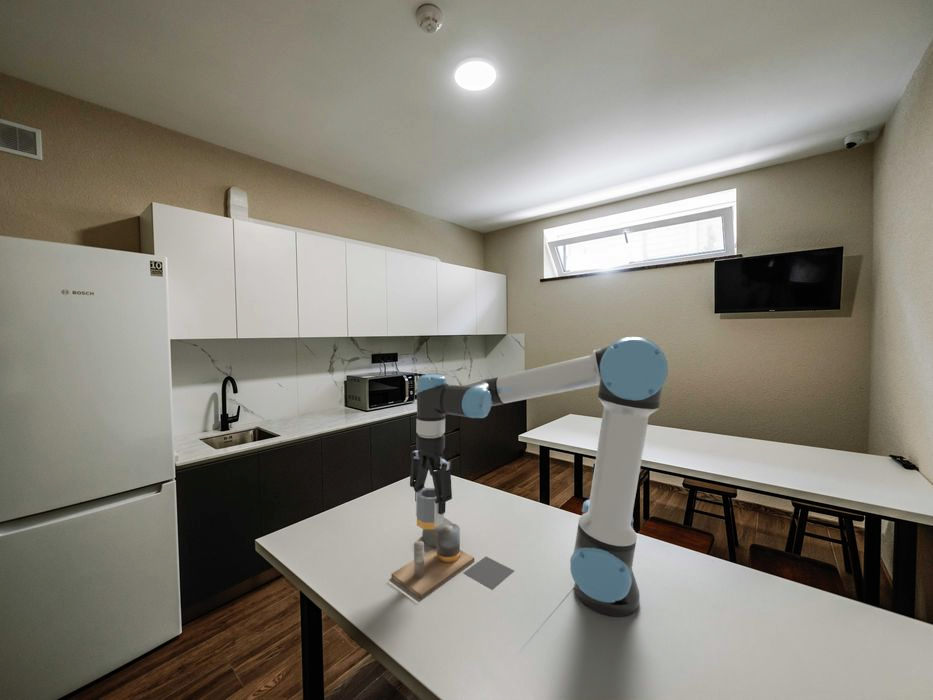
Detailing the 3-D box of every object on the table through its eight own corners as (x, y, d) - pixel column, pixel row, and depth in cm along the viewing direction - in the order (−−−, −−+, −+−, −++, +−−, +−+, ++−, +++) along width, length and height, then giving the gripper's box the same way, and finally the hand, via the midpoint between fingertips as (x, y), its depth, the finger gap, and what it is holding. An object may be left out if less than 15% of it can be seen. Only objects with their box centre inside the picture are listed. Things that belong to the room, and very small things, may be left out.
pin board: (474, 562, 105) (474, 528, 104) (421, 600, 90) (421, 560, 89) (444, 546, 113) (444, 514, 112) (391, 579, 98) (391, 542, 97)
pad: (514, 572, 101) (514, 570, 101) (492, 591, 93) (492, 589, 93) (485, 557, 107) (485, 556, 107) (463, 574, 100) (462, 572, 100)
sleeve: (447, 522, 98) (447, 493, 97) (428, 532, 93) (429, 501, 93) (430, 513, 102) (431, 485, 102) (412, 522, 97) (412, 493, 97)
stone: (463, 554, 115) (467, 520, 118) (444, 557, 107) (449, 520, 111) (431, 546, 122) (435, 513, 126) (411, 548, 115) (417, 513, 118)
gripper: (468, 439, 93) (466, 528, 94) (417, 424, 106) (416, 502, 107) (446, 445, 87) (445, 540, 88) (396, 429, 100) (395, 511, 101)
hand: (429, 519), depth 98 cm, fingers closed on sleeve, 7 cm apart
